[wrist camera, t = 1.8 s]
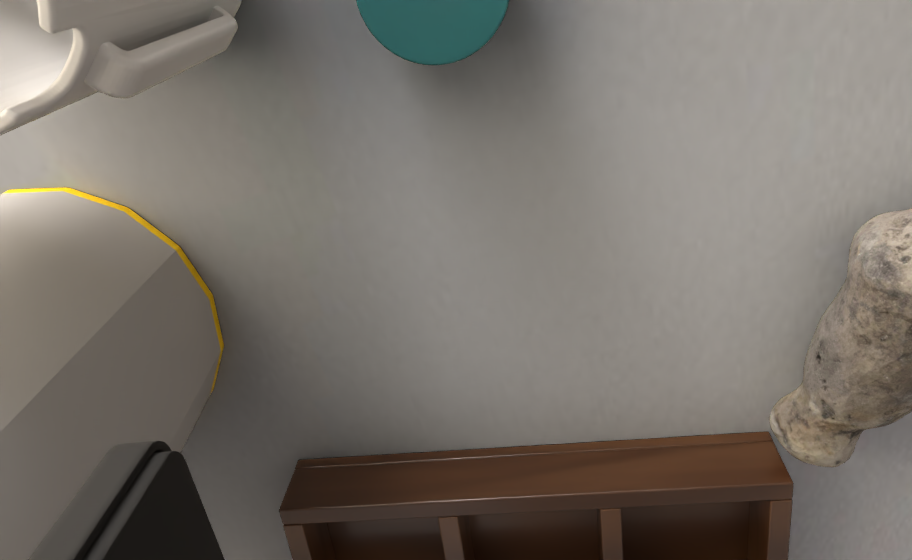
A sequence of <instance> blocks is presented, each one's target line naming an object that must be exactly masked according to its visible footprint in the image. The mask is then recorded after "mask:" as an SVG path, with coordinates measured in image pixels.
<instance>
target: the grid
mask: <svg viewBox="0 0 912 560" xmlns="http://www.w3.org/2000/svg"><path fill="white" fill-rule="evenodd" d="M793 484H794V483H793V481H792V479H791V477H790V475H789V473H788V471H787V469H786V467H785V465H784V463H783V461H782V459H781V457H780V455H779V453H778V450H777V448H776V446H775V444H774V442H773V440H772V438H771V436H770V434H769V432H751V433H734V434H718V435H701V436H685V437H668V438H652V439H635V440H619V441H602V442H586V443H569V444H552V445H536V446H519V447H503V448H486V449H470V450H453V451H437V452H420V453H404V454H387V455H371V456H354V457H338V458H321V459H305V460H298V462H297V465H296V467H295V470H294V473H293V475H292V478H291V481H290V483H289V486H288V488H287V491H286V493H285V496H284V499H283V501H282V504H281V506H280V509H279V512H280V516H281V519H282V523H283V524H284V525H283V527H284V531H285V534H286V537H287V541H288V544H289V548H290V551H291V554H292V558H293V560H788V551H789V538H790V525H791V512H792V497H793Z"/></svg>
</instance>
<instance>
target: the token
mask: <svg viewBox="0 0 912 560" xmlns="http://www.w3.org/2000/svg"><path fill="white" fill-rule="evenodd" d="M356 2H357V6H358V8H359V11H360V14H361V16H362V18H363V20H364V22H365V24H366V26H367V27H368V29H369V30H370V32H371V33H372V34H373V36H374V37H375V38H376V39H377V40H378V41H379V42H380V43H381V44H382V45H383V46H384V47H385V48H386V49H388V50H389V51H391V52H392V53H394V54H395V55H397V56H399V57H401V58H403V59H405V60H408V61H411V62H414V63H418V64H423V65H444V64H450V63H454V62H457V61H460V60H462V59H464V58H467V57H469V56H471V55H472V54H474V53H475V52H477V51H478V50H479V49H481V48H482V47H483V46H484V45H485V44H486V43H487V42H488V41H489V40H490V39H491V38H492V37H493V35H494V34H495V32H496V31H497V29H498V28H499V26H500V24H501V22H502V20H503V18H504V16H505V13H506V11H507V8H508V4H509V0H356Z"/></svg>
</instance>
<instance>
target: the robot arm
mask: <svg viewBox="0 0 912 560" xmlns="http://www.w3.org/2000/svg"><path fill="white" fill-rule="evenodd" d="M28 560H225V559H224V557H223V554H222V552H221V549H220V547H219V544H218V542H217V539H216V537H215V534H214V532H213V529H212V527H211V524H210V522H209V519H208V517H207V514H206V511H205V509H204V506H203V504H202V501H201V499H200V496H199V494H198V491H197V489H196V486H195V484H194V481H193V479H192V476H191V474H190V471H189V469H188V466H187V464H186V461H185V459H184V457H183V455H182V454H181V453H179V452H177V451H172V450H171V449H170V447H169V446H168V445H167V444H166V443H165V442H163V441H148V442H137V443H126V444H118V445H115V446H113V447H112V448H111V449H110V450H109V451H108V452H107V453H106V455H105V456H104V457H103V459H102V460H101V461H100V463H99V464H98V465H97V467H96V468H95V469H94V471H93V472H92V473H91V475H90V476H89V478H88V479H87V480H86V482H85V483H84V484H83V486H82V487H81V488H80V490H79V491H78V492H77V494H76V495H75V496H74V498H73V499H72V501H71V502H70V503H69V505H68V506H67V507H66V509H65V510H64V511H63V513H62V514H61V515H60V517H59V518H58V519H57V521H56V522H55V524H54V525H53V526H52V528H51V529H50V530H49V532H48V533H47V534H46V536H45V537H44V538H43V540H42V541H41V542H40V544H39V545H38V547H37V548H36V549H35V551H34V552H33V553H32V555H31V556H30V557H29V559H28Z"/></svg>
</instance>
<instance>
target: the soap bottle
mask: <svg viewBox="0 0 912 560" xmlns="http://www.w3.org/2000/svg"><path fill="white" fill-rule="evenodd" d="M223 348H224V343H223V339H222V334H221V330H220V325H219V321H218V316H217V312H216V307H215V303H214V298H213V295H212V293H211V292H210V290H209V289H208V287H207V286H206V284H205V283H204V281H203V280H202V278H201V277H200V276H199V274H198V273H197V271H196V270H195V268H194V267H193V265H192V264H191V262H190V261H189V259H188V258H187V256H186V255H185V253H184V252H183V251H182V249H181V248H180V246H179V245H177V244H176V243H175V242H173V241H172V240H171V239H169V238H168V237H167V236H165V235H164V234H163V233H161V232H160V231H159V230H157V229H156V228H155V227H153V226H152V225H151V224H149V223H148V222H147V221H145V220H144V219H143V218H141V217H140V216H139V215H137V214H136V213H135V212H133V211H132V210H131V209H129V208H128V207H125V206H122V205H119V204H116V203H113V202H110V201H107V200H104V199H101V198H98V197H95V196H92V195H89V194H86V193H83V192H80V191H77V190H74V189H71V188H42V189H16V190H8V191H7V192H5V193H3V194H1V195H0V560H28V559H29V557H30V556H31V555H32V553H33V552H34V551H35V549H36V548H37V547H38V545H39V544H40V542H41V541H42V540H43V538H44V537H45V536H46V534H47V533H48V532H49V530H50V529H51V528H52V526H53V525H54V524H55V522H56V521H57V519H58V518H59V517H60V515H61V514H62V513H63V511H64V510H65V509H66V507H67V506H68V505H69V503H70V502H71V501H72V499H73V498H74V496H75V495H76V494H77V492H78V491H79V490H80V488H81V487H82V486H83V484H84V483H85V482H86V480H87V479H88V478H89V476H90V475H91V473H92V472H93V471H94V469H95V468H96V467H97V465H98V464H99V463H100V461H101V460H102V459H103V457H104V456H105V455H106V453H107V452H108V451H109V450H110V449H111V448H112V447H113V446H115V445H118V444H126V443H137V442H148V441H163V442H165V443H166V444H167V445H168V446H169V447H170V449H171V450H172V451H177V452H179V453H181V451H182V449H183V447H184V445H185V443H186V441H187V439H188V437H189V435H190V433H191V431H192V429H193V427H194V426H195V424H196V422H197V420H198V418H199V416H200V414H201V412H202V410H203V408H204V406H205V404H206V402H207V400H208V398H209V396H210V394H211V393H212V391H213V389H214V385H215V381H216V377H217V373H218V369H219V364H220V360H221V356H222V352H223Z"/></svg>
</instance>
